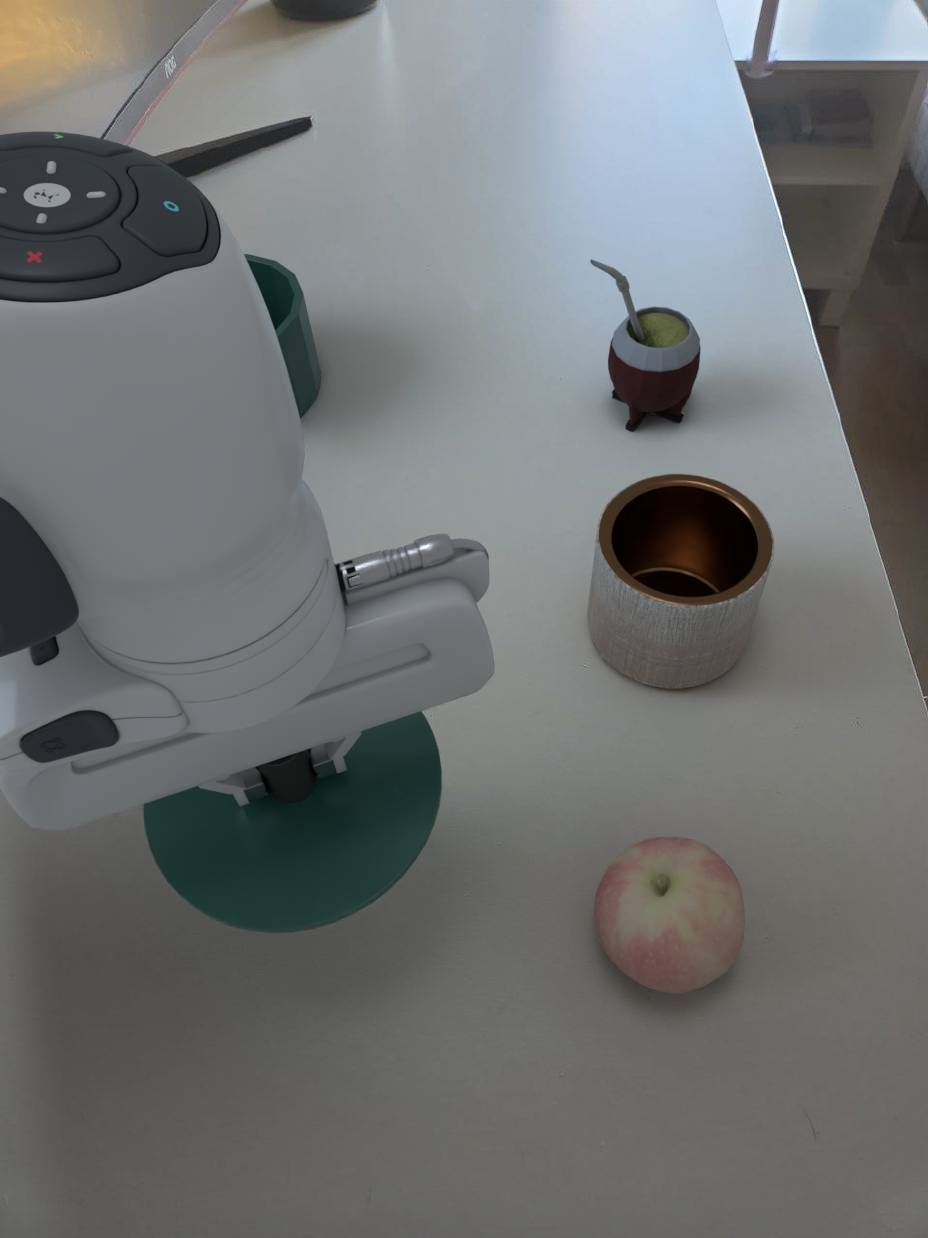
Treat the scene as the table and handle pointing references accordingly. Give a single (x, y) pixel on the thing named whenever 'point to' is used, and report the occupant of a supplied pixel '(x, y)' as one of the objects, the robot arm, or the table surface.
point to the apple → (670, 914)
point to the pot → (289, 327)
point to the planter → (677, 579)
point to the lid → (304, 834)
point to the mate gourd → (652, 358)
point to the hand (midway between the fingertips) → (290, 776)
